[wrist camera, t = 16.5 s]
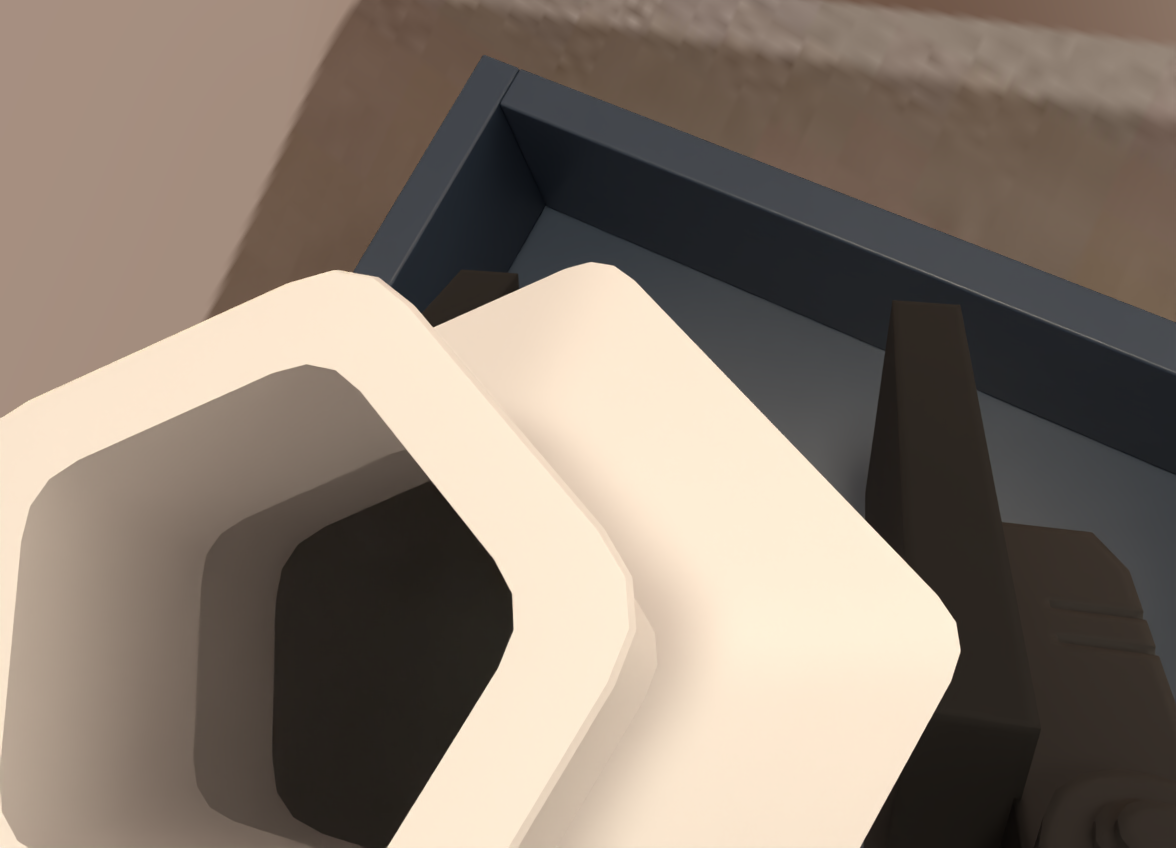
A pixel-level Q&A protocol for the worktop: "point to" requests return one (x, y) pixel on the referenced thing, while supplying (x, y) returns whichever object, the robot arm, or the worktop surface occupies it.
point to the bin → (808, 304)
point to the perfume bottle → (442, 591)
